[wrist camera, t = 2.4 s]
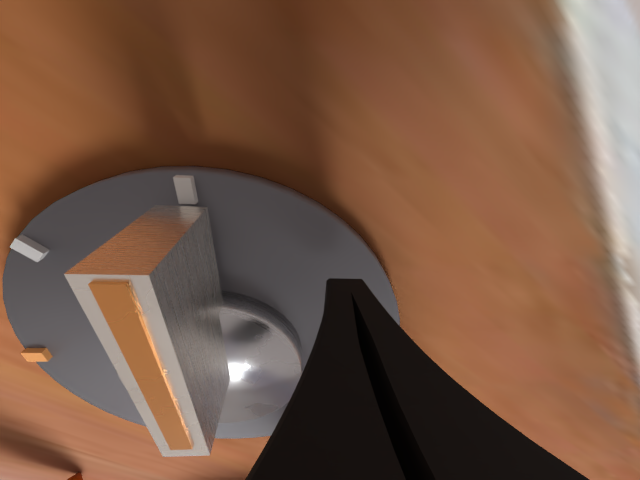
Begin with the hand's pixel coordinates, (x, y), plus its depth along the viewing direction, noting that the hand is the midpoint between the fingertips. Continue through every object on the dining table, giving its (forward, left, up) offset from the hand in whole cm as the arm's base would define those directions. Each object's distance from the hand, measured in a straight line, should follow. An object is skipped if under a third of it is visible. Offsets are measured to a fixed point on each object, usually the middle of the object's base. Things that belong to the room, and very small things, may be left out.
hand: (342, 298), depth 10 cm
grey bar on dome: (-4, +6, -2) cm, 7 cm away
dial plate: (-6, +6, -3) cm, 9 cm away
